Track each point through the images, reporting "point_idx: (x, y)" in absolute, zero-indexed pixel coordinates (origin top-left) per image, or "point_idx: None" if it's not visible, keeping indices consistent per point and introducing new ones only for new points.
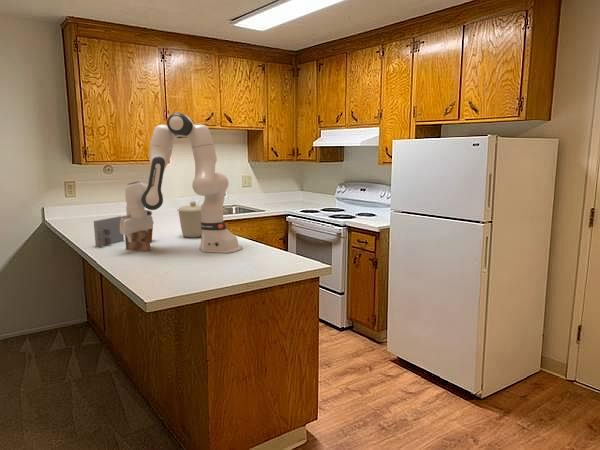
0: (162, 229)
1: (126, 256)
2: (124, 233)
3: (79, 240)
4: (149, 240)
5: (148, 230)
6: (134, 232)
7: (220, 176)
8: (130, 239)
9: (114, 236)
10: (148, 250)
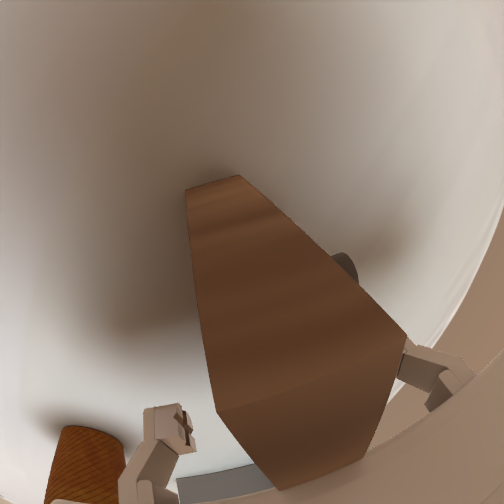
0: (19, 476)
1: (433, 171)
2: None
3: None
4: (199, 238)
5: (74, 491)
6: (426, 417)
7: None
8: (410, 345)
9: (232, 495)
10: (218, 182)
